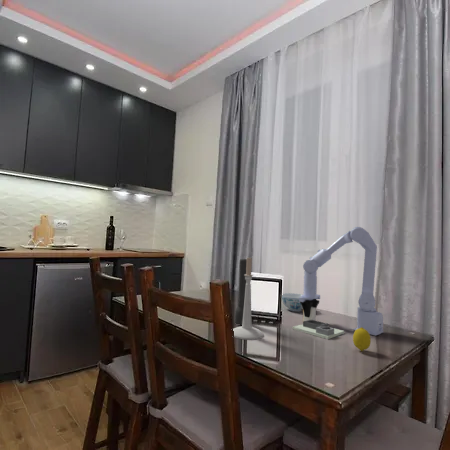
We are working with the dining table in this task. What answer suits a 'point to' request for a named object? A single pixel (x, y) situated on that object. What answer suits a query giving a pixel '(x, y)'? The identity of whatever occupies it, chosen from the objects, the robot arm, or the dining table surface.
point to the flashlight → (241, 292)
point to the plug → (312, 315)
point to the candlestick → (247, 311)
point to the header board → (312, 331)
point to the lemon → (361, 339)
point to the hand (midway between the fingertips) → (309, 316)
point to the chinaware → (292, 301)
